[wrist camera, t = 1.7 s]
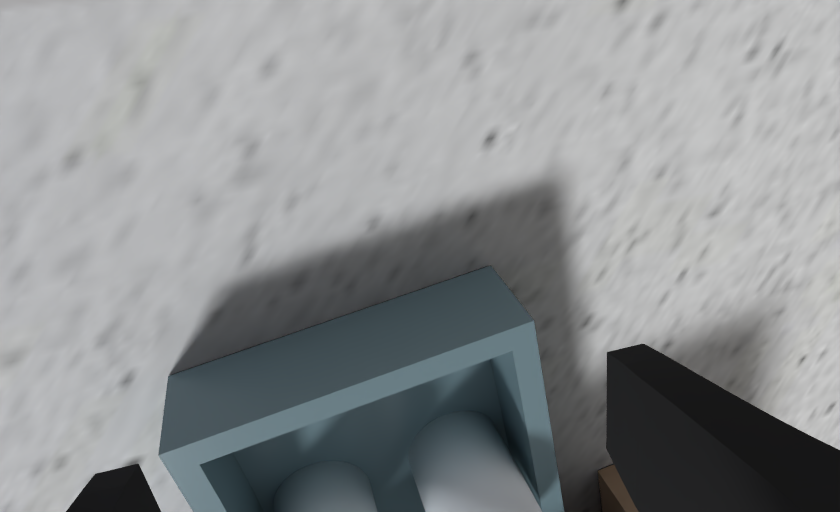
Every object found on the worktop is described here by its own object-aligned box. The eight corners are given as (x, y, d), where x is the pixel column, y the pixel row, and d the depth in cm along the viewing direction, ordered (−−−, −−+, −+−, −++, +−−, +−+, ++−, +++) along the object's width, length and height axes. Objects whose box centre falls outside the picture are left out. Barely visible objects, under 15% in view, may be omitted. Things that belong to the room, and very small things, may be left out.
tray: (168, 376, 20) (152, 501, 16) (490, 265, 21) (558, 352, 17) (289, 592, 26) (302, 726, 22) (534, 495, 27) (593, 603, 23)
